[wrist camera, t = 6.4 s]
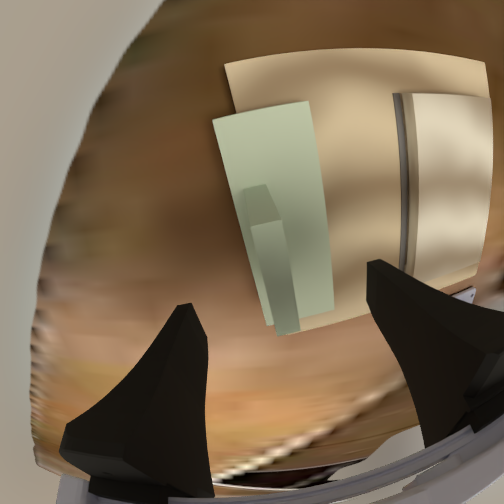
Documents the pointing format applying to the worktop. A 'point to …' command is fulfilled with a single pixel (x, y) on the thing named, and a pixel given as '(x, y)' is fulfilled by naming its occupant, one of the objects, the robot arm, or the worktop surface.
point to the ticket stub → (280, 209)
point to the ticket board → (388, 158)
